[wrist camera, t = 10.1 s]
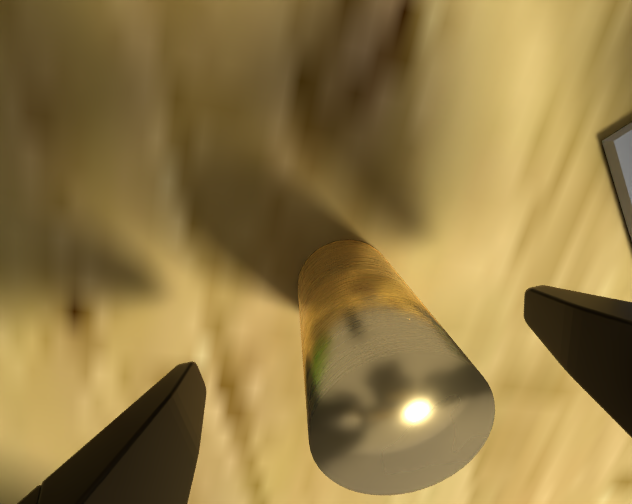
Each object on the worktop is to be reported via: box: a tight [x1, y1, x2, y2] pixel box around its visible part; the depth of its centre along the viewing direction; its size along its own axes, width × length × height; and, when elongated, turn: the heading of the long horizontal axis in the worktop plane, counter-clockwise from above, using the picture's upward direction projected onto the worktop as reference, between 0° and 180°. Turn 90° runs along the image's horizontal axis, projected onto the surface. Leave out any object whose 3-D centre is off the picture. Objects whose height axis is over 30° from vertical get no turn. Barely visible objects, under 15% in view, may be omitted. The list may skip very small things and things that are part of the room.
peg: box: [298, 240, 495, 495], centre depth 8 cm, size 3×3×6 cm
